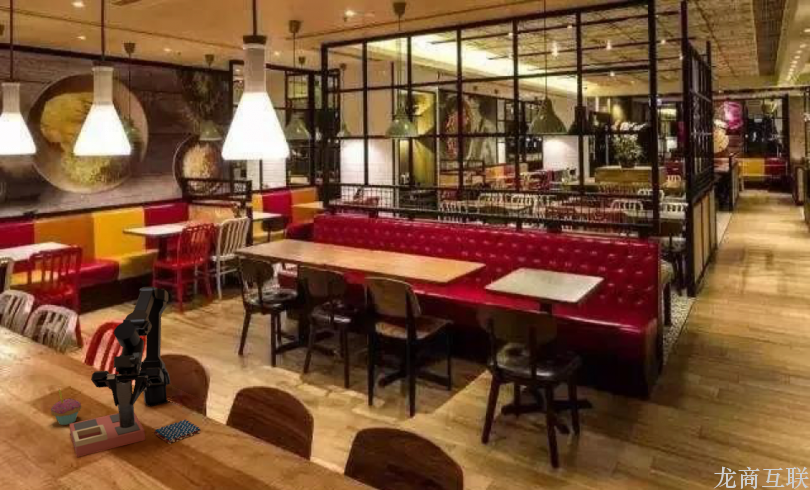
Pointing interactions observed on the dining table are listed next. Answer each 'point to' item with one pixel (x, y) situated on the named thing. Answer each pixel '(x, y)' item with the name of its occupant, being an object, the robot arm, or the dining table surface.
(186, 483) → the dining table surface
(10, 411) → the dining table surface
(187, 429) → the woven mat
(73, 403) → the cupcake
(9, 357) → the dining table surface
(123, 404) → the stool leg
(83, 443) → the pink control box
